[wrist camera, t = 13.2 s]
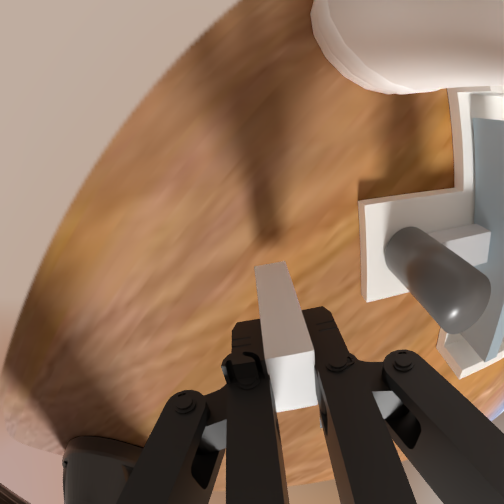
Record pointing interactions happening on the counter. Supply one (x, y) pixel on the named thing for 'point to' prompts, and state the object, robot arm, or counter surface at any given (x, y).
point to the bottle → (412, 42)
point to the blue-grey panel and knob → (463, 255)
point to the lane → (432, 216)
